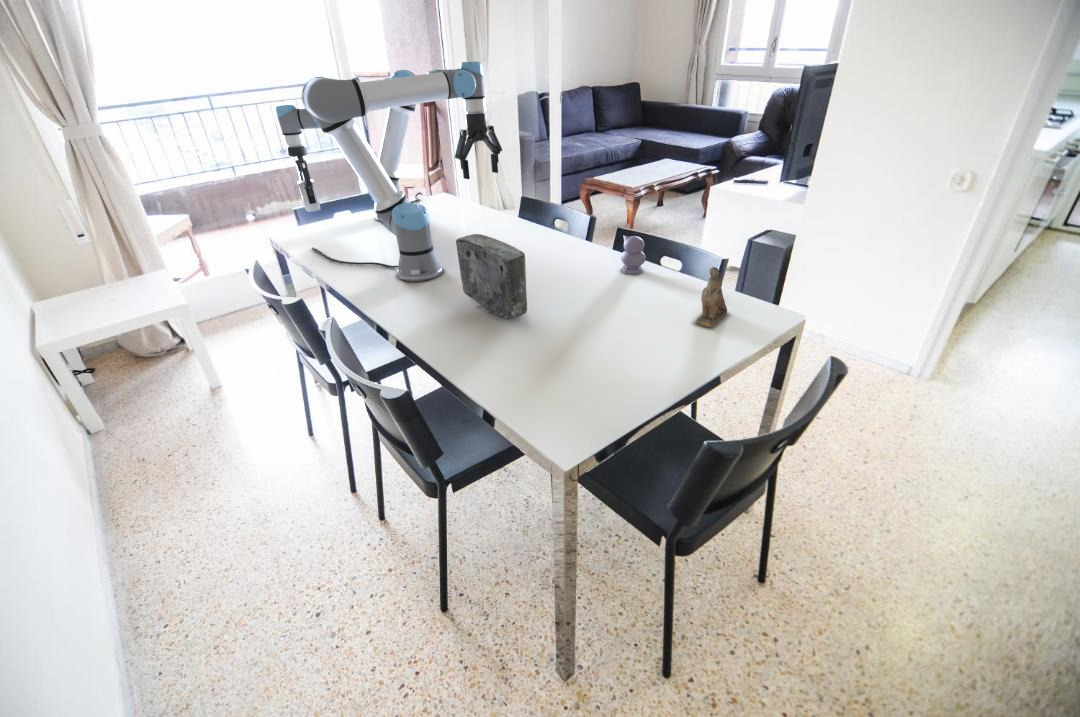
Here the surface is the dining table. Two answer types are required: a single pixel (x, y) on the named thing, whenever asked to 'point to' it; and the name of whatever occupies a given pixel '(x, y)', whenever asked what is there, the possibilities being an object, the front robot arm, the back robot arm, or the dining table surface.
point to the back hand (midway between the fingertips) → (311, 201)
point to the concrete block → (493, 274)
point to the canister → (307, 205)
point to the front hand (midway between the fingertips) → (481, 175)
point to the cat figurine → (633, 254)
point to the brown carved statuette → (712, 301)
